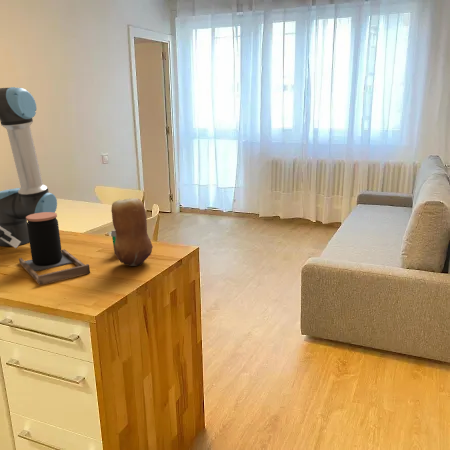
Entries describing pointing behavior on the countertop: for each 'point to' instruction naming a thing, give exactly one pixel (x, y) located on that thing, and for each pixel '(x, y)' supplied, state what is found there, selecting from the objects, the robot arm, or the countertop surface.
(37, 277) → the bay
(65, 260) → the front mat
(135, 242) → the butternut squash
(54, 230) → the coffee jar
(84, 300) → the countertop surface
